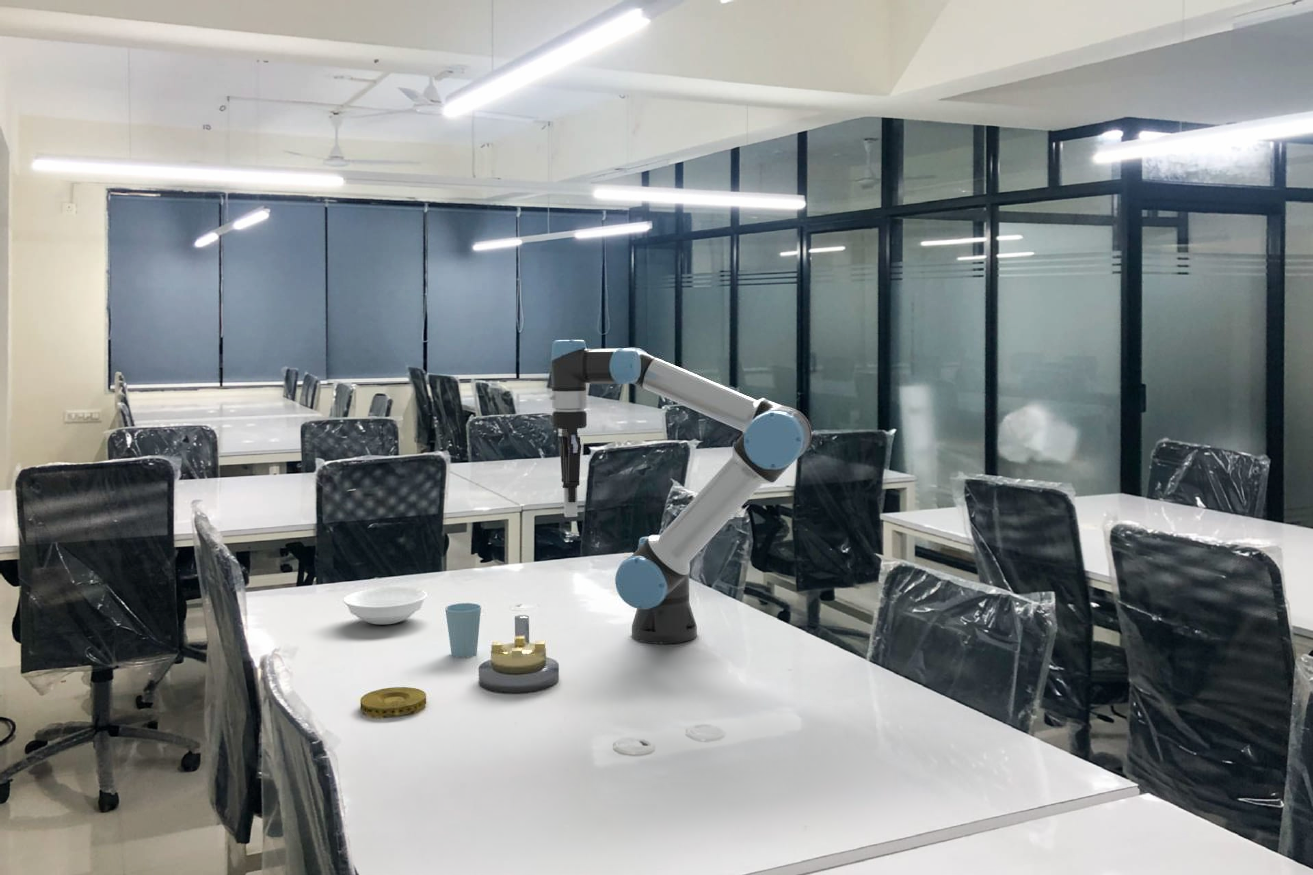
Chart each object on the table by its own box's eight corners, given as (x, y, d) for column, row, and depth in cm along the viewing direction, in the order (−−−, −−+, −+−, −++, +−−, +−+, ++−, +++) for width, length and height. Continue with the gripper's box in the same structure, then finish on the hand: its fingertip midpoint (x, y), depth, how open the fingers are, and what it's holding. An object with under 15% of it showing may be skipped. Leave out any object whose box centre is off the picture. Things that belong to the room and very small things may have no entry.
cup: (486, 656, 234) (485, 609, 233) (451, 660, 231) (449, 613, 230) (477, 647, 241) (476, 601, 240) (443, 651, 238) (441, 605, 237)
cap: (551, 665, 227) (551, 650, 227) (565, 689, 212) (565, 672, 211) (475, 672, 223) (474, 656, 223) (483, 697, 208) (482, 679, 207)
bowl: (390, 607, 277) (390, 583, 276) (444, 619, 265) (444, 594, 264) (326, 624, 261) (325, 599, 260) (380, 637, 249) (380, 610, 248)
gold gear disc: (356, 703, 206) (356, 691, 205) (419, 694, 210) (419, 683, 210) (365, 723, 195) (365, 711, 194) (432, 714, 199) (431, 702, 199)
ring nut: (545, 684, 212) (544, 639, 211) (489, 685, 211) (488, 640, 211) (548, 655, 231) (548, 614, 230) (497, 656, 230) (496, 615, 229)
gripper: (547, 408, 242) (549, 512, 245) (558, 412, 230) (559, 521, 232) (580, 407, 244) (581, 510, 247) (592, 411, 232) (593, 520, 234)
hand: (570, 516), depth 239 cm, fingers closed
